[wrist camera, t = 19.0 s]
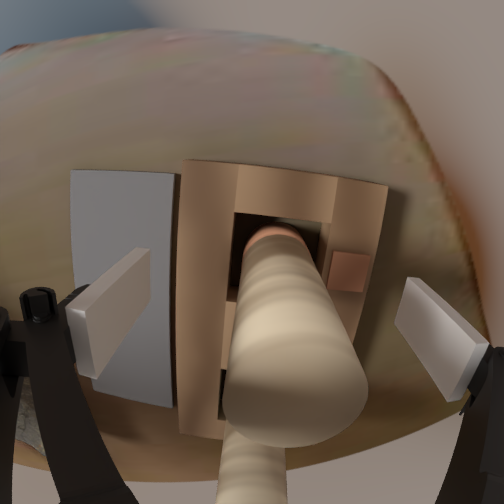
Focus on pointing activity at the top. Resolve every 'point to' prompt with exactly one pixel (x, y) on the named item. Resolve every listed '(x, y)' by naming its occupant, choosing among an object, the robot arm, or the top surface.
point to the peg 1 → (250, 471)
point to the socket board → (220, 259)
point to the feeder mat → (113, 250)
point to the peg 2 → (288, 348)
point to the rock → (28, 419)
